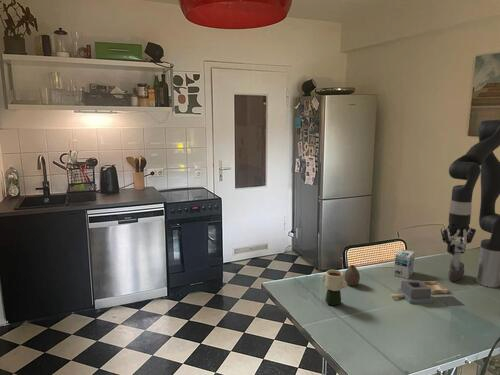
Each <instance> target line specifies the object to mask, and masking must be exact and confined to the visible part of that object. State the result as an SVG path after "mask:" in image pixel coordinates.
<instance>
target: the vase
mask: <svg viewBox="0 0 500 375" xmlns="http://www.w3.org/2000/svg"><path fill="white" fill-rule="evenodd" d="M360 279H361V275H360V272H359V270H358V269H357V268H356V265H354V264H351V265H349V266H348V268H346V270H345V271H344V280H345V281H346V282H347V285H348V286H349V287H355V286H357V285H358V284H359V283H360Z"/></svg>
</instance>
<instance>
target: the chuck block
mask: <svg viewBox="0 0 500 375" xmlns="http://www.w3.org/2000/svg"><path fill="white" fill-rule="evenodd" d="M423 282H424V281H422V280H420V279H419V280H418V279H417V280H401V283H400V284H401V285H400V288H397V294H395V293H393V294H391V298H393V299H397V298H398V299H399V298H402V299H404V300H405V301H406V302H407V303H408V304H434V303H433V302H434V298H433V297H432V295H431V288H429V287H428V286H427V285H425V284H424V283H423Z"/></svg>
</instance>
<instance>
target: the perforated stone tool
mask: <svg viewBox="0 0 500 375" xmlns="http://www.w3.org/2000/svg"><path fill="white" fill-rule="evenodd" d="M464 274H465V263H463V262H461V261H460V265H459V270H452V269H450V268H449V271H448V275H447V276H448V277H447V278H448V280H449V282H451V283H452V282H456V281H458V280H459V279H461V278H462V277H463V276H464Z"/></svg>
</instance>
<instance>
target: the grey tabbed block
mask: <svg viewBox="0 0 500 375" xmlns="http://www.w3.org/2000/svg"><path fill="white" fill-rule="evenodd" d="M453 245H454V246H453V254H450V259H449V260H450V261H449V270H450V269H452V270H459V265H460V262H461V254H462V253H461V252H464V253H465V252H466V248H465V244H463V243H461V242H460V240H458V241H457V240H455V241H454V244H453Z"/></svg>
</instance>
